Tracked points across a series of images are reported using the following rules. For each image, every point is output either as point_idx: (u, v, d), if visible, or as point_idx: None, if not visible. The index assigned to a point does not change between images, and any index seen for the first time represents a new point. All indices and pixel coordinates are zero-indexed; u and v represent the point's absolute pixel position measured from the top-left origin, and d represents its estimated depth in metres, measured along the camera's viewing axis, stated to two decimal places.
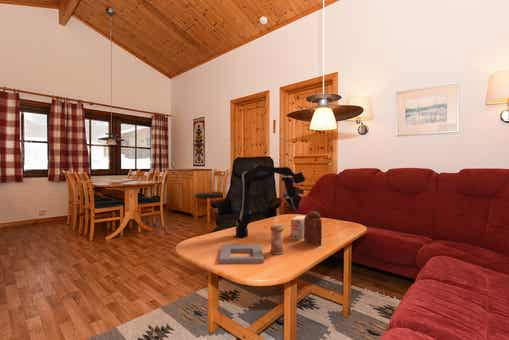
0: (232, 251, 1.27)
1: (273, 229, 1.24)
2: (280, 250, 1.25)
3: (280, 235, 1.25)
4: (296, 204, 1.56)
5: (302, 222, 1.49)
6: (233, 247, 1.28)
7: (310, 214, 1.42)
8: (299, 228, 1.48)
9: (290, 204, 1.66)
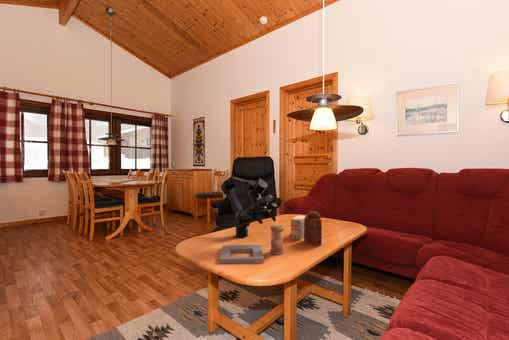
0: (232, 251, 1.27)
1: (273, 229, 1.24)
2: (280, 250, 1.25)
3: (280, 235, 1.25)
4: (256, 217, 1.33)
5: (302, 222, 1.50)
6: (233, 247, 1.28)
7: (310, 214, 1.42)
8: (299, 228, 1.48)
9: (272, 217, 1.39)
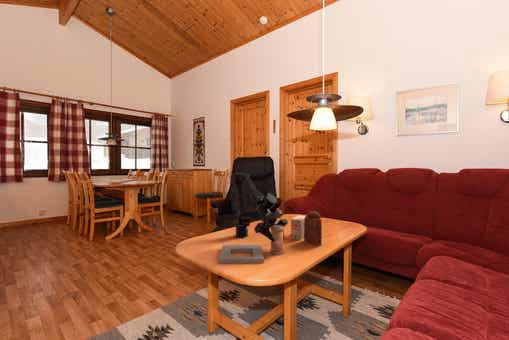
0: (232, 251, 1.27)
1: (273, 229, 1.24)
2: (280, 250, 1.25)
3: (280, 235, 1.25)
4: (267, 234, 1.26)
5: (302, 222, 1.50)
6: (233, 247, 1.28)
7: (310, 214, 1.42)
8: (299, 228, 1.48)
9: None
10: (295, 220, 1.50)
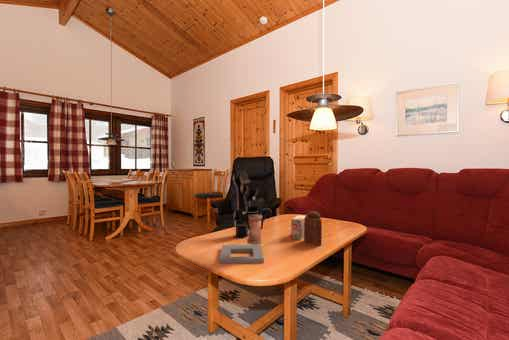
0: (232, 251, 1.27)
1: (249, 217, 1.20)
2: (255, 240, 1.19)
3: (255, 224, 1.19)
4: (245, 221, 1.23)
5: (302, 222, 1.50)
6: (233, 247, 1.28)
7: (310, 214, 1.42)
8: (299, 228, 1.49)
9: None
10: (295, 220, 1.50)
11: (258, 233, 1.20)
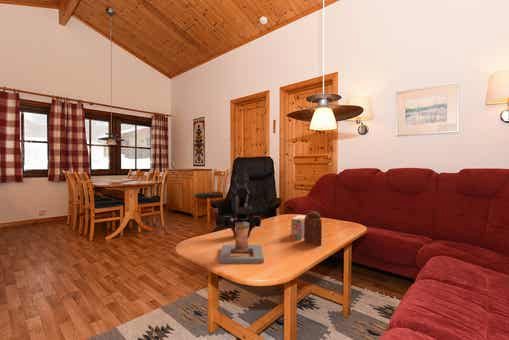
0: (232, 251, 1.27)
1: (235, 224, 1.20)
2: (241, 248, 1.18)
3: (241, 232, 1.18)
4: (232, 228, 1.23)
5: (302, 222, 1.51)
6: (233, 247, 1.28)
7: (310, 214, 1.42)
8: (299, 228, 1.49)
9: (248, 232, 1.22)
10: (295, 220, 1.50)
11: (244, 241, 1.19)
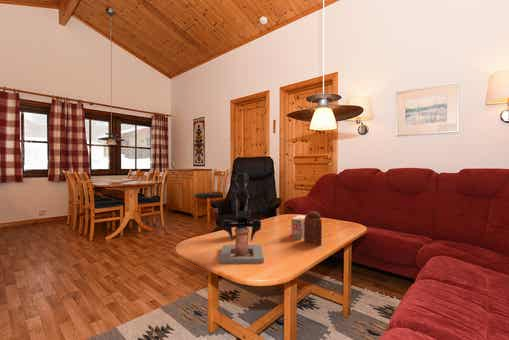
0: (232, 251, 1.27)
1: (235, 231, 1.20)
2: (241, 254, 1.19)
3: (241, 238, 1.18)
4: (229, 232, 1.23)
5: (302, 222, 1.51)
6: (233, 247, 1.28)
7: (310, 214, 1.42)
8: (299, 227, 1.49)
9: (251, 236, 1.22)
10: (295, 220, 1.50)
11: (244, 247, 1.19)
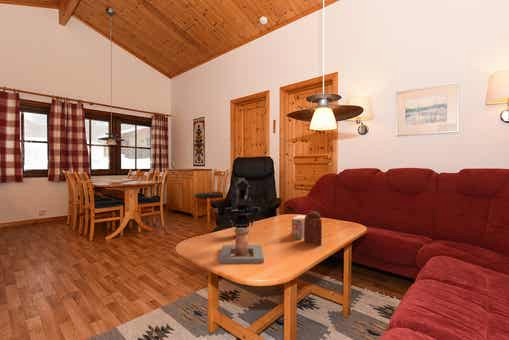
0: (232, 251, 1.27)
1: (235, 231, 1.20)
2: (241, 254, 1.19)
3: (241, 238, 1.18)
4: (231, 219, 1.32)
5: (303, 221, 1.51)
6: (233, 247, 1.28)
7: (310, 214, 1.42)
8: (300, 227, 1.49)
9: (251, 221, 1.32)
10: (296, 220, 1.50)
11: (244, 247, 1.19)
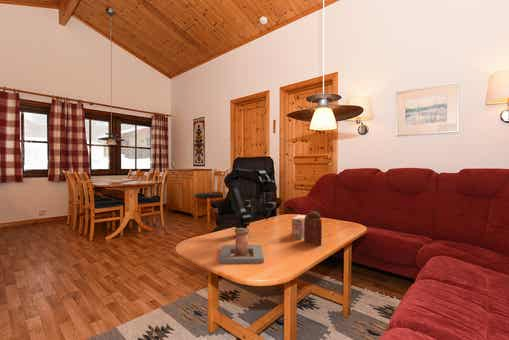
0: (232, 251, 1.27)
1: (235, 231, 1.20)
2: (241, 254, 1.19)
3: (241, 238, 1.18)
4: None
5: (303, 221, 1.51)
6: (233, 247, 1.28)
7: (310, 214, 1.42)
8: (300, 227, 1.50)
9: None
10: (296, 220, 1.51)
11: (244, 247, 1.19)
